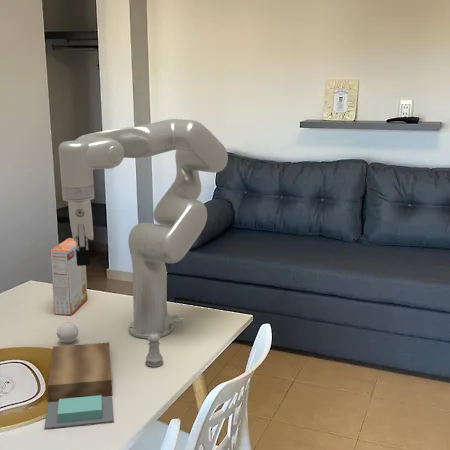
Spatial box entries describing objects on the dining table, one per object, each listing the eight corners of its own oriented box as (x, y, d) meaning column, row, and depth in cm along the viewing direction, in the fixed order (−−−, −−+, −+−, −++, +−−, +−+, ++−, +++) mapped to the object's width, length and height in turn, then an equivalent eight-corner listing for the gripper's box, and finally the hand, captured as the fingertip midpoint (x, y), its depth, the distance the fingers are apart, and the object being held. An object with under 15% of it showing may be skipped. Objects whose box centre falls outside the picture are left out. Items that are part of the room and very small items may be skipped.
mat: (112, 398, 133) (112, 396, 133) (113, 422, 124) (113, 420, 124) (48, 404, 130) (47, 402, 130) (44, 429, 121) (44, 427, 121)
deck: (109, 356, 153) (109, 342, 152) (112, 395, 134) (111, 379, 133) (53, 361, 150) (53, 346, 149) (48, 401, 131) (47, 385, 130)
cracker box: (70, 298, 193) (67, 237, 188) (88, 299, 192) (85, 238, 187) (52, 314, 180) (49, 249, 175) (71, 316, 179) (68, 250, 174)
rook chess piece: (155, 369, 147) (155, 339, 145) (141, 364, 149) (141, 335, 147) (166, 362, 151) (166, 333, 149) (152, 358, 153) (152, 329, 151)
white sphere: (59, 338, 164) (58, 319, 162) (80, 337, 164) (79, 318, 163) (54, 350, 156) (53, 330, 155) (76, 349, 157) (75, 330, 156)
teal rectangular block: (101, 409, 124) (102, 418, 125) (101, 395, 130) (101, 403, 130) (57, 414, 122) (57, 422, 123) (59, 399, 128) (59, 407, 128)
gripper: (95, 198, 136) (100, 273, 141) (92, 185, 150) (97, 254, 155) (62, 200, 134) (68, 276, 139) (62, 187, 148) (68, 256, 153)
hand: (83, 264), depth 147 cm, fingers closed
